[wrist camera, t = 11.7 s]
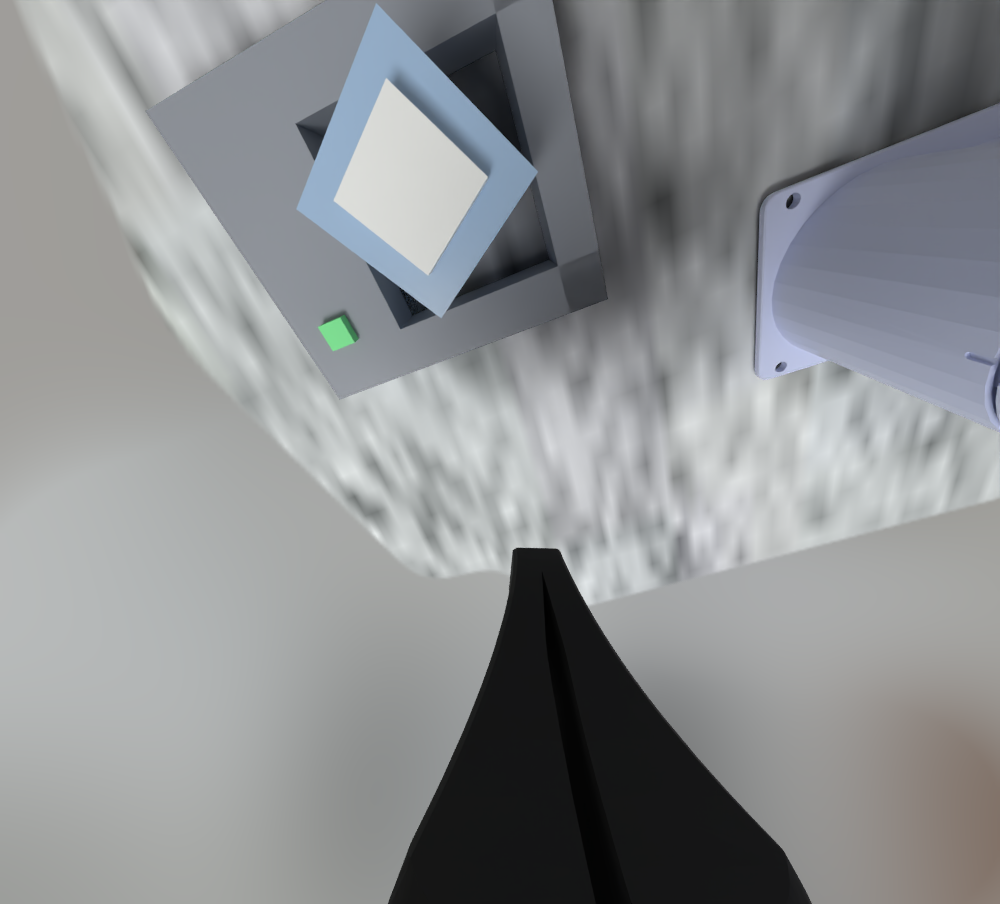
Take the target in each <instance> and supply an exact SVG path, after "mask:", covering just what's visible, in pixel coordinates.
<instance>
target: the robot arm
mask: <svg viewBox="0 0 1000 904" xmlns="http://www.w3.org/2000/svg"><path fill="white" fill-rule="evenodd" d="M790 195H793V198H794V199H793V202H792V204H791V205H790V207H789V208H786V201H787V199H788V198H789V196H790ZM826 361H831V362H834V363H836V364H838V365H841V366H843V367H845V368H848V369H850V370H853V371H855V372H857V373H860V374H862V375H864V376H867V377H869V378H872V379H874V380H876V381H879V382H881V383H883V384H886V385H888V386H891V387H893V388H895V389H898V390H900V391H902V392H905V393H907V394H910V395H912V396H914V397H917V398H919V399H921V400H924V401H926V402H929V403H931V404H933V405H936V406H938V407H940V408H943V409H945V410H948V411H950V412H952V413H955V414H957V415H959V416H962V417H964V418H967V419H969V420H971V421H974V422H976V423H978V424H981V425H983V426H985V427H988V428H990V429H993V430H995V431H997V432H1000V103H998V104H995V105H993V106H990V107H988V108H985V109H983V110H980V111H978V112H975V113H972V114H970V115H967V116H965V117H962V118H960V119H957V120H955V121H952V122H950V123H947V124H945V125H942V126H940V127H937V128H935V129H932V130H930V131H927V132H924V133H922V134H919V135H917V136H914V137H912V138H909V139H907V140H904V141H902V142H899V143H897V144H894V145H892V146H889V147H887V148H884V149H882V150H879V151H876V152H874V153H871V154H869V155H866V156H864V157H861V158H859V159H856V160H854V161H851V162H849V163H846V164H844V165H841V166H839V167H836V168H833V169H831V170H828V171H826V172H823V173H821V174H818V175H816V176H813V177H811V178H808V179H806V180H803V181H801V182H798V183H796V184H793V185H791V186H788V187H785V188H783V189H780V190H778V191H775V192H773V193H772V194H770V195H768V197H767V198H766V199H765V200H764V201H763V203H762V205H761V208H760V217H759V249H758V281H757V313H756V345H755V375H756V376H757V377H759V378H761V379H763V380H767V379H771V378H775V377H778V376H781V375H784V374H787V373H791V372H794V371H797V370H800V369H804V368H807V367H810V366H813V365H817V364H820V363H823V362H826ZM780 362H781V365H780V366H779V367H778V368H777V369H775V368H776V366H777V365H778V364H779V363H780ZM388 904H812V903H811V901H810V899H809V897H808V895H807V893H806V891H805V889H804V887H803V885H802V883H801V881H800V880H799V878H798V876H797V874H796V872H795V870H794V869H793V867H792V865H791V863H790V862H789V860H788V858H787V856H786V854H785V852H784V851H783V850H782V848H781V847H780V846H779V845H778V844H777V843H776V842H775V841H774V840H773V839H772V838H771V837H770V836H769V835H768V834H767V833H766V832H765V831H764V830H763V829H762V828H761V826H760V825H759V824H758V823H757V822H756V821H755V820H754V819H753V818H752V817H751V816H750V815H749V814H748V813H747V812H746V811H745V810H744V809H743V808H742V806H741V805H740V804H739V803H738V802H737V801H736V800H735V799H734V798H733V797H732V796H731V795H730V794H729V792H728V791H727V790H726V789H725V788H724V787H723V786H722V785H721V784H720V782H719V781H718V780H717V779H716V778H715V777H714V776H713V775H712V774H711V773H710V772H709V770H708V769H707V768H706V767H705V766H704V765H703V763H702V762H701V761H700V760H699V759H698V758H697V757H696V755H695V754H694V753H693V752H692V751H691V750H690V748H689V747H688V746H687V745H686V743H685V742H684V741H683V740H682V739H681V737H680V736H679V735H678V734H677V733H676V731H675V730H674V729H673V728H672V727H671V726H670V724H669V723H668V722H667V721H666V720H665V718H664V717H663V716H662V715H661V713H660V712H659V711H658V710H657V708H656V707H655V706H654V704H653V703H652V702H651V700H650V699H649V698H648V697H647V695H646V694H645V693H644V691H643V690H642V689H641V687H640V686H639V685H638V683H637V682H636V681H635V679H634V678H633V676H632V675H631V674H630V672H629V671H628V669H627V668H626V666H625V665H624V664H623V662H622V661H621V659H620V658H619V656H618V655H617V653H616V652H615V650H614V649H613V647H612V646H611V644H610V643H609V641H608V639H607V638H606V637H605V635H604V633H603V632H602V630H601V628H600V627H599V625H598V623H597V622H596V620H595V618H594V617H593V615H592V613H591V611H590V610H589V608H588V606H587V605H586V603H585V601H584V599H583V597H582V596H581V594H580V592H579V590H578V588H577V586H576V584H575V582H574V580H573V579H572V576H571V574H570V572H569V570H568V568H567V566H566V564H565V562H564V559H563V557H562V555H561V552H560V551H559V550H558V549H549V548H516V549H514V550H513V555H512V565H511V575H510V585H509V596H508V600H507V605H506V610H505V614H504V618H503V621H502V625H501V628H500V631H499V635H498V638H497V642H496V645H495V648H494V652H493V654H492V657H491V661H490V663H489V666H488V669H487V672H486V675H485V677H484V680H483V683H482V686H481V688H480V691H479V693H478V696H477V699H476V701H475V704H474V706H473V709H472V711H471V714H470V716H469V719H468V721H467V723H466V726H465V728H464V731H463V733H462V736H461V738H460V740H459V742H458V744H457V747H456V749H455V751H454V753H453V755H452V758H451V760H450V762H449V765H448V767H447V769H446V772H445V773H444V776H443V778H442V780H441V782H440V784H439V786H438V789H437V791H436V793H435V795H434V797H433V799H432V801H431V803H430V805H429V807H428V809H427V811H426V813H425V815H424V817H423V820H422V821H421V823H420V825H419V827H418V829H417V831H416V833H415V836H414V838H413V840H412V842H411V844H410V846H409V849H408V852H407V855H406V858H405V860H404V863H403V865H402V868H401V870H400V873H399V876H398V878H397V881H396V884H395V886H394V889H393V891H392V894H391V897H390V899H389V903H388Z"/></svg>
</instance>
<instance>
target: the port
mask: <svg viewBox="0 0 1000 904" xmlns="http://www.w3.org/2000/svg"><path fill="white" fill-rule="evenodd" d="M376 3H377V4H378V5H379V6H380V7H381V8H382V9H383V11H384V12H385V13H386V14H387V15H388V16H389V17H390V18H391V19H392V20H393V21H394V22H395V23H396V24H397V25H398V26H399V27H400V28H401V29H402V30H403V31H404V32H405V33H406V35H407V36H408V37H409V38H410V39H411V40H412V41H413V42H414V43H415V44H416V45H417V46H418V47H419V48H420V49H421V50H422V51H423V52H424V53H425V54H426V55H427V56H428V57H429V58H430V60H431V61H432V62H433V63H434V64H435V65H436V66H437V67H438V68H439V69H440V70H441V71H442V72H443V73H444V74H445V75H446V76H448V75H449V74H451V73H453V72H455V71H457V70H459V69H461V68H463V67H464V66H466V65H468V64H470V63H472V62H474V61H476V60H478V59H480V58H481V57H483V56H485V55H487V54H489V53H491V52H493V51H495V50H496V53H497V57H498V61H499V65H500V69H501V73H502V77H503V81H504V84H505V88H506V92H507V96H508V100H509V104H510V108H511V112H512V116H513V120H514V123H515V127H516V131H517V135H518V139H519V143H520V147H521V151H522V155H523V156H524V157H525V158H526V160H527V161H528V162H529V163H530V164H531V165H532V166H533V167H534V168H535V169H536V170H537V171H538V173H537V174H536V176H535V177H534V179H533V180H532V182H531V183H530V186H531V190H532V194H533V198H534V202H535V206H536V209H537V213H538V217H539V221H540V225H541V229H542V233H543V237H544V241H545V245H546V248H547V252H548V256H549V260H547V261H545V262H542V263H540V264H537V265H535V266H533V267H530V268H528V269H525V270H523V271H520V272H518V273H515V274H513V275H510V276H508V277H506V278H503V279H501V280H498V281H496V282H493V283H491V284H488V285H486V286H483V287H481V288H479V289H476V290H474V291H471V292H469V293H466V294H464V295H461V296H459V297H456V298H454V300H453V301H452V303H451V304H450V306H449V307H448V309H447V311H446V312H445V314H444V315H443V317H442V318H440V317H439V316H437V315H436V314H435V313H433V312H432V311H431V310H429V309H427V310H424V311H422V312H420V313H417V314H415V315H412V313H411V311H410V309H409V307H408V305H407V303H406V301H405V299H404V297H403V295H402V292H401V290H400V288H399V286H397V285H396V284H395V283H394V282H392V281H391V280H390V279H388V278H387V277H386V276H384V275H383V274H382V273H380V272H379V271H378V270H376V269H375V268H374V267H372V266H371V265H370V264H368V263H367V262H366V261H364V260H363V259H362V258H360V257H359V256H358V255H356V254H355V253H354V252H352V251H351V250H350V249H348V248H347V247H346V246H345V245H343V244H342V243H341V242H339V241H338V240H337V239H335V238H334V237H333V236H331V235H330V234H329V233H327V232H326V231H325V230H323V229H322V228H321V227H319V226H318V225H317V224H315V223H314V222H313V221H311V220H310V219H309V218H307V217H306V216H305V215H303V214H302V213H301V212H299V211H298V210H297V209H296V208H297V206H298V203H299V201H300V198H301V196H302V193H303V190H304V188H305V185H306V183H307V180H308V177H309V175H310V172H311V170H312V167H313V165H314V162H315V159H316V157H317V154H318V152H319V149H320V146H321V144H322V141H323V139H324V136H325V134H326V131H327V128H328V126H329V123H330V121H331V118H332V116H333V113H334V110H335V108H336V105H337V103H338V100H339V97H340V95H341V92H342V90H343V87H344V85H345V82H346V79H347V77H348V74H349V72H350V69H351V66H352V64H353V61H354V59H355V56H356V54H357V51H358V48H359V46H360V43H361V41H362V38H363V36H364V33H365V30H366V28H367V25H368V23H369V20H370V17H371V15H372V12H373V10H374V7H375V5H376ZM146 113H147V114H148V116H149V117H150V119H151V120H152V122H153V123H154V125H155V126H156V128H157V129H158V131H159V132H160V134H161V135H162V137H163V138H164V140H165V141H166V143H167V144H168V145H169V147H170V148H171V150H172V151H173V153H174V154H175V156H176V157H177V159H178V160H179V162H180V163H181V165H182V166H183V168H184V169H185V171H186V172H187V174H188V175H189V177H190V178H191V180H192V181H193V183H194V184H195V186H196V187H197V188H198V190H199V191H200V193H201V194H202V196H203V197H204V199H205V200H206V202H207V203H208V205H209V206H210V208H211V209H212V211H213V212H214V214H215V215H216V217H217V218H218V220H219V221H220V223H221V224H222V226H223V227H224V229H225V230H226V231H227V233H228V234H229V236H230V237H231V239H232V240H233V242H234V243H235V245H236V246H237V248H238V249H239V251H240V252H241V254H242V255H243V257H244V258H245V260H246V261H247V263H248V264H249V266H250V267H251V269H252V270H253V272H254V273H255V275H256V276H257V277H258V279H259V280H260V282H261V283H262V285H263V286H264V288H265V289H266V291H267V292H268V294H269V295H270V297H271V298H272V300H273V301H274V303H275V304H276V306H277V307H278V309H279V310H280V312H281V313H282V315H283V316H284V318H285V319H286V320H287V322H288V323H289V325H290V326H291V328H292V329H293V331H294V332H295V334H296V335H297V337H298V338H299V340H300V341H301V343H302V344H303V346H304V347H305V349H306V350H307V352H308V353H309V355H310V356H311V358H312V359H313V361H314V362H315V363H316V365H317V366H318V368H319V369H320V371H321V372H322V374H323V375H324V377H325V378H326V380H327V381H328V383H329V384H330V386H331V387H332V389H333V390H334V392H335V393H336V395H337V396H338V398H339V399H342V398H345V397H348V396H350V395H353V394H356V393H358V392H361V391H364V390H366V389H369V388H372V387H374V386H377V385H380V384H382V383H385V382H388V381H390V380H393V379H396V378H398V377H401V376H404V375H406V374H409V373H412V372H414V371H417V370H420V369H422V368H425V367H428V366H430V365H433V364H436V363H438V362H441V361H444V360H446V359H449V358H452V357H455V356H457V355H460V354H463V353H465V352H468V351H471V350H473V349H476V348H479V347H481V346H484V345H487V344H489V343H492V342H495V341H497V340H500V339H503V338H505V337H508V336H511V335H513V334H516V333H519V332H521V331H524V330H527V329H529V328H532V327H535V326H537V325H540V324H543V323H545V322H548V321H551V320H553V319H556V318H559V317H561V316H564V315H567V314H569V313H572V312H575V311H577V310H580V309H583V308H585V307H588V306H591V305H593V304H596V303H599V302H601V301H604V300H607V299H608V297H607V292H606V286H605V281H604V275H603V270H602V265H601V259H600V254H599V248H598V243H597V238H596V232H595V227H594V222H593V216H592V211H591V205H590V200H589V195H588V189H587V184H586V178H585V173H584V168H583V162H582V157H581V151H580V146H579V141H578V135H577V130H576V124H575V119H574V114H573V108H572V103H571V98H570V92H569V87H568V81H567V76H566V71H565V65H564V60H563V54H562V49H561V44H560V38H559V33H558V27H557V22H556V17H555V11H554V6H553V1H552V0H326V1H324V2H322V3H321V4H319V5H317V6H316V7H314V8H313V9H311V10H309V11H308V12H306V13H304V14H303V15H301V16H300V17H298V18H296V19H295V20H293V21H291V22H290V23H288V24H287V25H285V26H283V27H282V28H280V29H278V30H277V31H275V32H274V33H272V34H270V35H269V36H267V37H265V38H264V39H262V40H260V41H259V42H257V43H256V44H254V45H252V46H251V47H249V48H247V49H246V50H244V51H243V52H241V53H239V54H238V55H236V56H234V57H233V58H231V59H230V60H228V61H226V62H225V63H223V64H221V65H220V66H218V67H217V68H215V69H213V70H212V71H210V72H208V73H207V74H205V75H204V76H202V77H200V78H199V79H197V80H195V81H194V82H192V83H191V84H189V85H187V86H186V87H184V88H182V89H181V90H179V91H177V92H176V93H174V94H173V95H171V96H169V97H168V98H166V99H164V100H163V101H161V102H160V103H158V104H156V105H155V106H153V107H151V108H150V109H148V110H147V111H146Z"/></svg>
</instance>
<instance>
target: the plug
mask: <svg viewBox="0 0 1000 904" xmlns="http://www.w3.org/2000/svg"><path fill="white" fill-rule="evenodd" d="M537 173H538V171H537V170H536V169H535V168H534V167H533V166H532V165H531V164H530V163H529V162H528V161H527V160H526V158H525V157H524V156H523V155H522V154H521V153H520V152H519V151H518V150H517V149H516V148H515V147H514V146H513V145H512V144H511V143H510V142H509V141H508V140H507V139H506V138H505V137H504V136H503V135H502V133H501V132H500V131H499V130H498V129H497V128H496V127H495V126H494V125H493V124H492V123H491V122H490V121H489V120H488V119H487V118H486V117H485V116H484V115H483V114H482V113H481V112H480V111H479V110H478V108H477V107H476V106H475V105H474V104H473V103H472V102H471V101H470V100H469V99H468V98H467V97H466V96H465V95H464V94H463V93H462V92H461V91H460V90H459V89H458V88H457V87H456V86H455V85H454V83H453V82H452V81H451V80H450V79H449V78H448V77H447V76H446V75H445V74H444V73H443V72H442V71H441V70H440V69H439V68H438V67H437V66H436V65H435V64H434V63H433V62H432V61H431V60H430V58H429V57H428V56H427V55H426V54H425V53H424V52H423V51H422V50H421V49H420V48H419V47H418V46H417V45H416V44H415V43H414V42H413V41H412V40H411V39H410V38H409V37H408V36H407V35H406V33H405V32H404V31H403V30H402V29H401V28H400V27H399V26H398V25H397V24H396V23H395V22H394V21H393V20H392V19H391V18H390V17H389V16H388V15H387V14H386V13H385V12H384V11H383V9H382V8H381V7H380V6H379V5H378V4H377V3H376V5H375V7H374V10H373V12H372V15H371V17H370V20H369V23H368V25H367V28H366V30H365V33H364V36H363V38H362V41H361V43H360V46H359V48H358V51H357V54H356V56H355V59H354V61H353V64H352V66H351V69H350V72H349V74H348V77H347V79H346V82H345V85H344V87H343V90H342V92H341V95H340V97H339V100H338V103H337V105H336V108H335V110H334V113H333V116H332V118H331V121H330V123H329V126H328V128H327V131H326V134H325V136H324V139H323V141H322V144H321V146H320V149H319V152H318V154H317V157H316V159H315V162H314V165H313V167H312V170H311V172H310V175H309V177H308V180H307V183H306V185H305V188H304V190H303V193H302V196H301V198H300V201H299V203H298V206H297V208H296V209H297V210H298V211H299V212H301V213H302V214H303V215H305V216H306V217H307V218H309V219H310V220H311V221H313V222H314V223H315V224H317V225H318V226H319V227H321V228H322V229H323V230H325V231H326V232H327V233H329V234H330V235H331V236H333V237H334V238H335V239H337V240H338V241H339V242H341V243H342V244H343V245H345V246H346V247H347V248H348V249H350V250H351V251H352V252H354V253H355V254H356V255H358V256H359V257H360V258H362V259H363V260H364V261H366V262H367V263H368V264H370V265H371V266H372V267H374V268H375V269H376V270H378V271H379V272H380V273H382V274H383V275H384V276H386V277H387V278H388V279H390V280H391V281H392V282H394V283H395V284H396V285H397V286H399V287H400V288H401V289H403V290H404V291H405V292H407V293H408V294H409V295H411V296H412V297H413V298H415V299H416V300H417V301H419V302H420V303H421V304H423V305H424V306H425V307H427V308H428V309H429V310H431V311H432V312H433V313H435V314H436V315H437V316H439V317H440V318H442V317H443V315H444V314H445V312H446V311H447V309H448V307H449V306H450V304H451V303H452V301H453V300H454V298H455V297H456V295H457V294H458V292H459V291H460V289H461V288H462V286H463V285H464V283H465V282H466V280H467V279H468V277H469V276H470V274H471V273H472V271H473V270H474V268H475V267H476V265H477V264H478V262H479V261H480V259H481V258H482V256H483V254H484V253H485V251H486V250H487V248H488V247H489V245H490V244H491V242H492V241H493V239H494V238H495V236H496V235H497V233H498V232H499V230H500V229H501V227H502V226H503V224H504V223H505V221H506V220H507V218H508V217H509V215H510V214H511V212H512V211H513V209H514V208H515V206H516V205H517V203H518V201H519V200H520V198H521V197H522V195H523V194H524V192H525V191H526V189H527V188H528V186H529V185H530V183H531V182H532V180H533V179H534V177H535V176H536V174H537Z"/></svg>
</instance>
